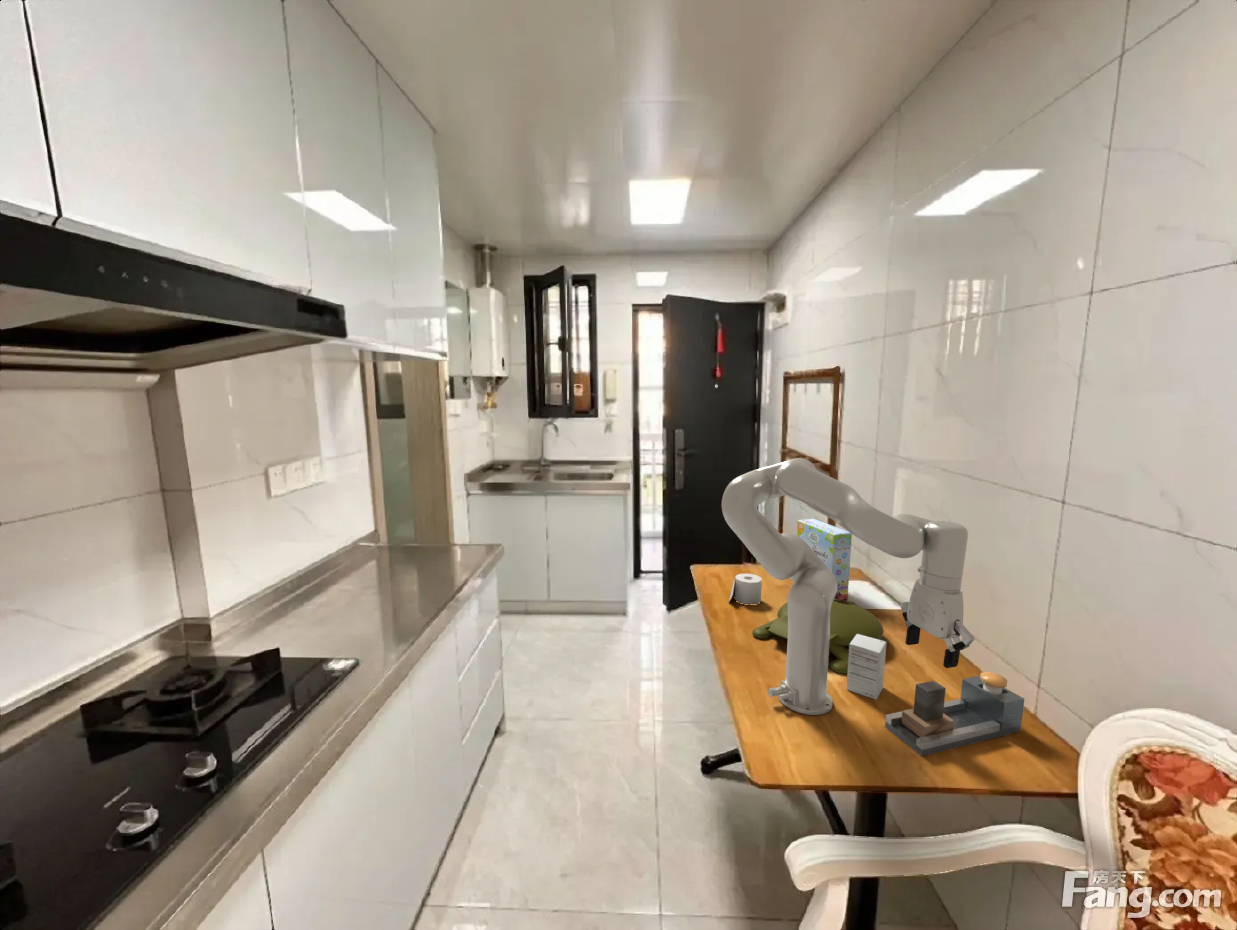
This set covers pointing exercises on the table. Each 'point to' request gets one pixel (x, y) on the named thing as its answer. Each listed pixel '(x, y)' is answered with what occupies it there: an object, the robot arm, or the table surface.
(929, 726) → the block
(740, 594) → the toilet tissue
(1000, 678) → the button
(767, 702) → the table surface
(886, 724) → the rail base
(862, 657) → the supplement box
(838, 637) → the green toy turtle
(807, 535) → the snack box
